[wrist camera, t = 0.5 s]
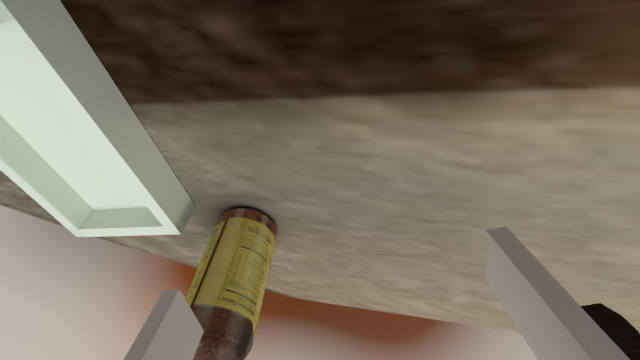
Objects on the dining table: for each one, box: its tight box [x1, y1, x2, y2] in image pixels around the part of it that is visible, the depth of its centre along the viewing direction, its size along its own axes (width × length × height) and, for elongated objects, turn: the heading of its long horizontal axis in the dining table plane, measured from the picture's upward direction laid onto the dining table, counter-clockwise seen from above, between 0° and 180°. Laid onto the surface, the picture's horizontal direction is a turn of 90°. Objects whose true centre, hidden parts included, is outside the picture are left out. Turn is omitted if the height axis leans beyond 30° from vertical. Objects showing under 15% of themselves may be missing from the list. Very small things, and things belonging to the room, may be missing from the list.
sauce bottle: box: [185, 208, 276, 360], centre depth 26 cm, size 6×6×20 cm
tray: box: [0, 0, 196, 237], centre depth 25 cm, size 20×12×4 cm, turn 11°
